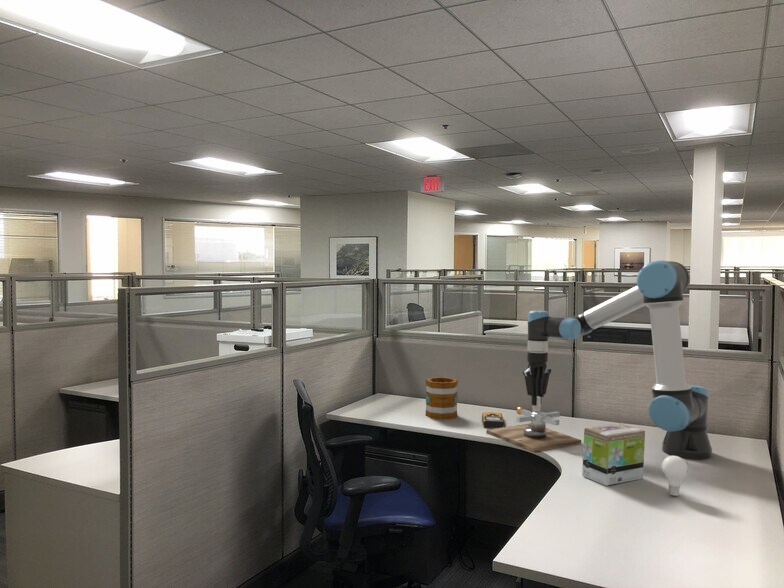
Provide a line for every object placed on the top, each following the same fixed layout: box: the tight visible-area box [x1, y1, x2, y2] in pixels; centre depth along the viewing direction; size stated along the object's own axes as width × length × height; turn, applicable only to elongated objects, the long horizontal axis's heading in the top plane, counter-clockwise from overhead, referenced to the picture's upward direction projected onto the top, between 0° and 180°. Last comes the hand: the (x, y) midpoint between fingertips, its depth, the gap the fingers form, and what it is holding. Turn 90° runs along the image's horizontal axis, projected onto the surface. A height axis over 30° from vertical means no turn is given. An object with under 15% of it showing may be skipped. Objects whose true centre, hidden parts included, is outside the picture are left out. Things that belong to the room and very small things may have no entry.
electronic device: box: [481, 411, 505, 429], centre depth 240 cm, size 8×16×3 cm, turn 173°
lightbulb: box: [661, 455, 689, 497], centre depth 163 cm, size 6×6×11 cm
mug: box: [425, 376, 459, 421], centre depth 254 cm, size 20×14×15 cm
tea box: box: [581, 422, 646, 487], centre depth 177 cm, size 15×10×15 cm, turn 117°
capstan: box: [516, 406, 561, 438], centre depth 217 cm, size 21×19×8 cm
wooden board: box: [486, 422, 582, 453], centre depth 219 cm, size 26×22×2 cm
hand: (536, 413), depth 227 cm, fingers closed
